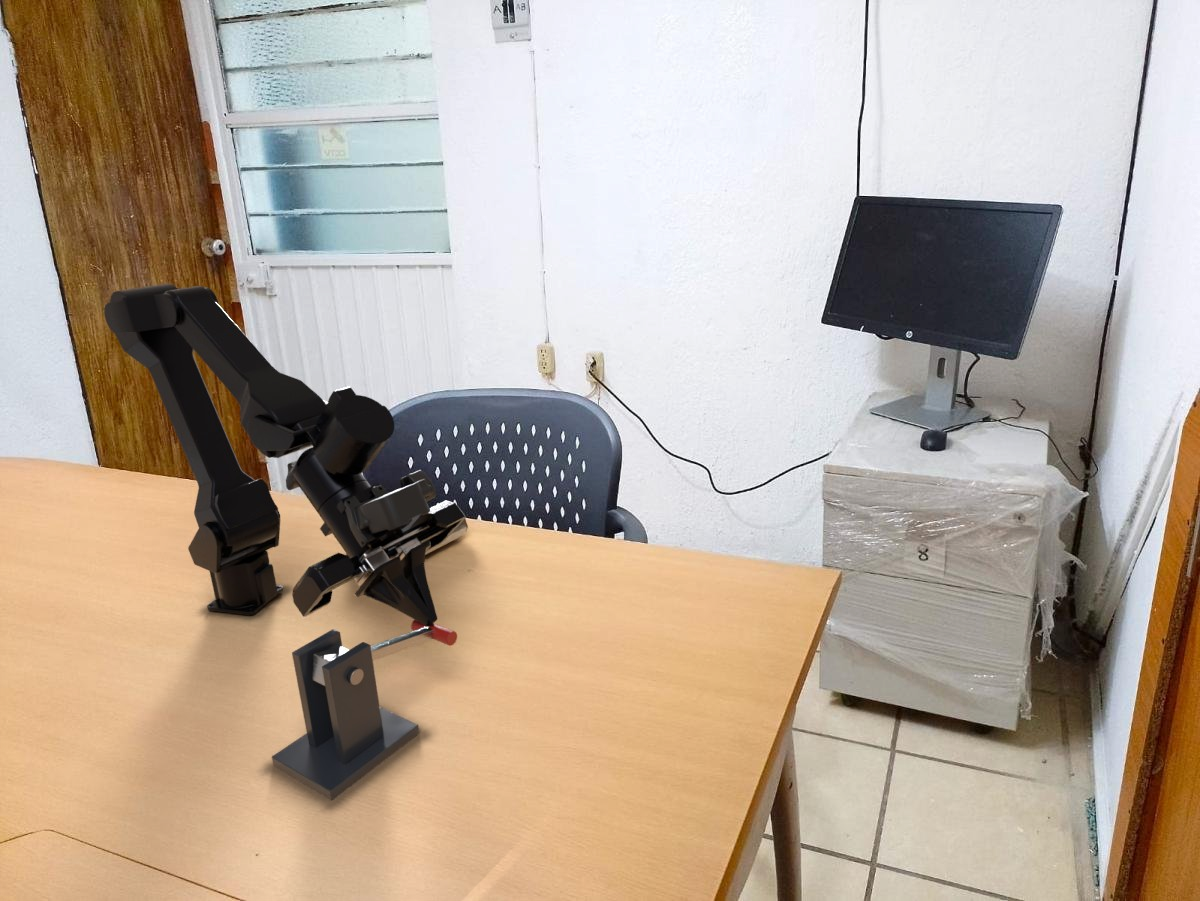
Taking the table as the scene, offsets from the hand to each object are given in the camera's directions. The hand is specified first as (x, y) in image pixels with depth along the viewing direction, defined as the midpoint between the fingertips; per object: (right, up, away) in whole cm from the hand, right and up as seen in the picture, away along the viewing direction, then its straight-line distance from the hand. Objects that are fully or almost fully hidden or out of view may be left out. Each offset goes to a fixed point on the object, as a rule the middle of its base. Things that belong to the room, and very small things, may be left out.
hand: (433, 623), depth 81 cm
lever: (-4, -3, -5) cm, 6 cm away
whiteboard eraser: (-10, +3, +31) cm, 33 cm away
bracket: (-6, -10, -7) cm, 14 cm away
